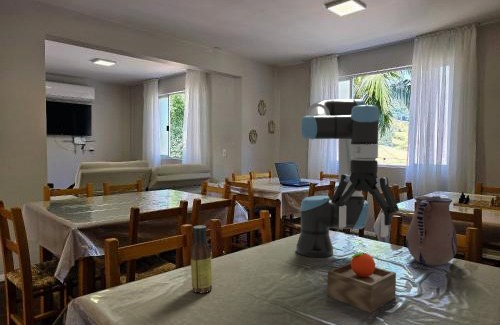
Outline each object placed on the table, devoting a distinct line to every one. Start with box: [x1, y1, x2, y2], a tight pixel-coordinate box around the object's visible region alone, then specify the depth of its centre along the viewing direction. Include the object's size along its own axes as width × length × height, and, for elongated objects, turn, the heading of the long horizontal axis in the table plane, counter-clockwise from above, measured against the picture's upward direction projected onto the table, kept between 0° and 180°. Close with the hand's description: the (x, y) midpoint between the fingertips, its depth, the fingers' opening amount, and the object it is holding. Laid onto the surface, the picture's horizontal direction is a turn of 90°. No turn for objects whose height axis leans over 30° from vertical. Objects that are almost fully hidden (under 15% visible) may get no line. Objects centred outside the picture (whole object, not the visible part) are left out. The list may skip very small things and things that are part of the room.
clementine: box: [348, 252, 376, 277], centre depth 103 cm, size 8×7×7 cm
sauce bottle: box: [190, 224, 213, 293], centre depth 107 cm, size 7×6×20 cm
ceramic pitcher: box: [405, 195, 459, 266], centre depth 132 cm, size 18×21×25 cm
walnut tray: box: [326, 261, 397, 314], centre depth 103 cm, size 14×14×8 cm
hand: (362, 231), depth 102 cm, fingers open, 13 cm apart
